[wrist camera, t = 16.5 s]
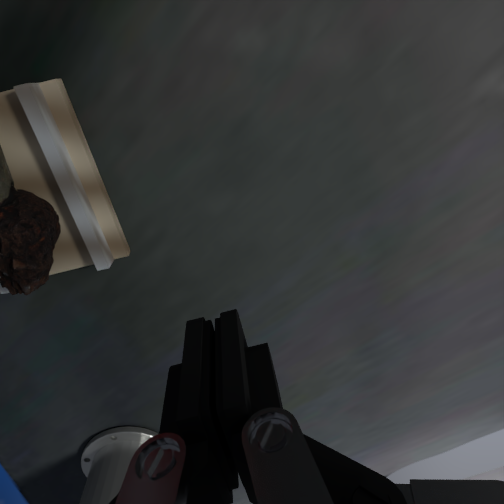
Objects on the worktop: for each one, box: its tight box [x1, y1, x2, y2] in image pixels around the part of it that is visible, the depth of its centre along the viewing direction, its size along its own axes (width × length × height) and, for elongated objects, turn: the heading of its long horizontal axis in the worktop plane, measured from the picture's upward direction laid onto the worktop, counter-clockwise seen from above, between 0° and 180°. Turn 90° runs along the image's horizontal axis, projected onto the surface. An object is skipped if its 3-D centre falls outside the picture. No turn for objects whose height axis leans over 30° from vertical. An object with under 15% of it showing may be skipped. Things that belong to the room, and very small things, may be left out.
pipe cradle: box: [0, 79, 130, 294], centre depth 34 cm, size 17×14×3 cm
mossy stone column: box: [0, 145, 61, 295], centre depth 32 cm, size 18×7×6 cm, turn 8°
